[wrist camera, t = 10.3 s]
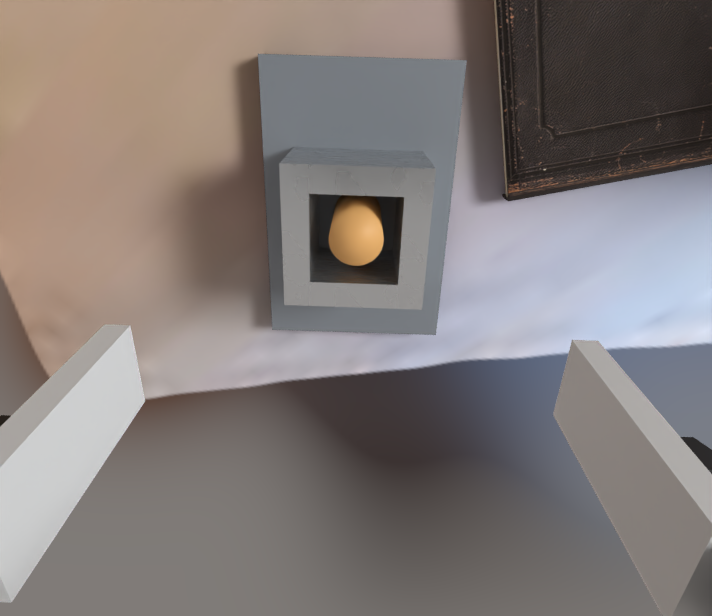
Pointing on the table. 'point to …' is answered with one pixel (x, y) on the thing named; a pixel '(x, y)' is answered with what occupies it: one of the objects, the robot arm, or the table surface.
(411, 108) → the keeper
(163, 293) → the table surface
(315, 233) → the square tube segment
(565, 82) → the hardcover book
